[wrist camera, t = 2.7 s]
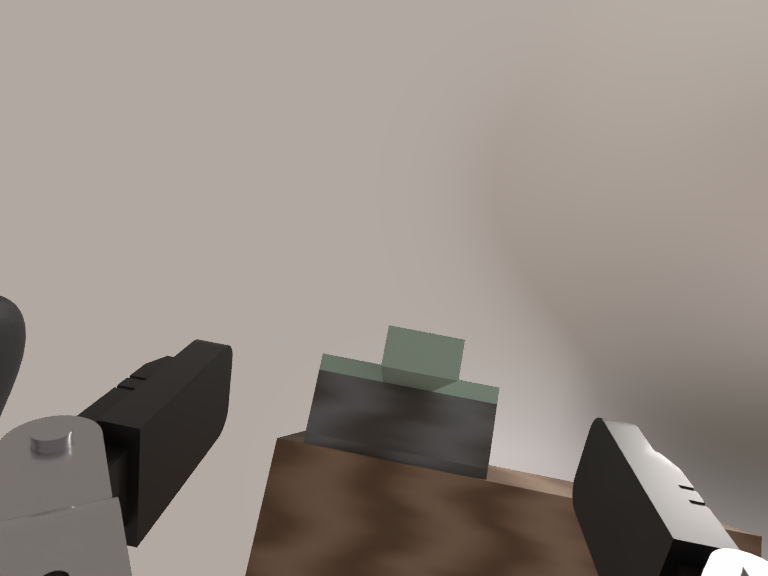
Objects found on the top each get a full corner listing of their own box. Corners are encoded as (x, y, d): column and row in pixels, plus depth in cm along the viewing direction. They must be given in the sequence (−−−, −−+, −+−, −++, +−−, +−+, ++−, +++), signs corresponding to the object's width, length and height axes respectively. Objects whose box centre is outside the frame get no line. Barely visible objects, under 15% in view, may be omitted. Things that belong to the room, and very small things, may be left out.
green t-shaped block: (274, 372, 20) (289, 306, 20) (333, 391, 42) (340, 360, 43) (559, 428, 19) (567, 359, 20) (466, 418, 42) (471, 385, 42)
